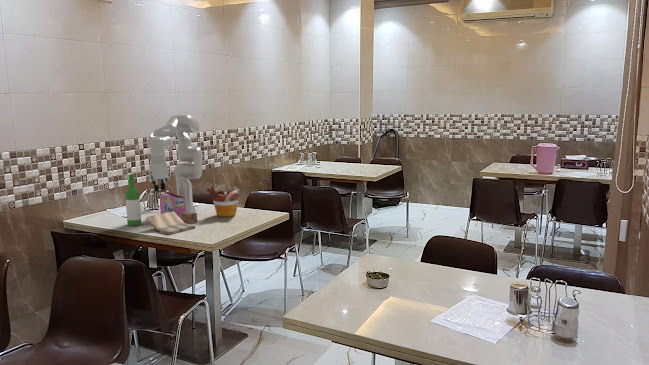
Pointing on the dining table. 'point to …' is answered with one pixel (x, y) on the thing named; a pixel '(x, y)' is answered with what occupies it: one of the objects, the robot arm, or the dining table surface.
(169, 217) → the beige segmented panel
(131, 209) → the wine bottle
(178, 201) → the gum box
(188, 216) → the walnut block
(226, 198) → the bucket of meat
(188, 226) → the board
